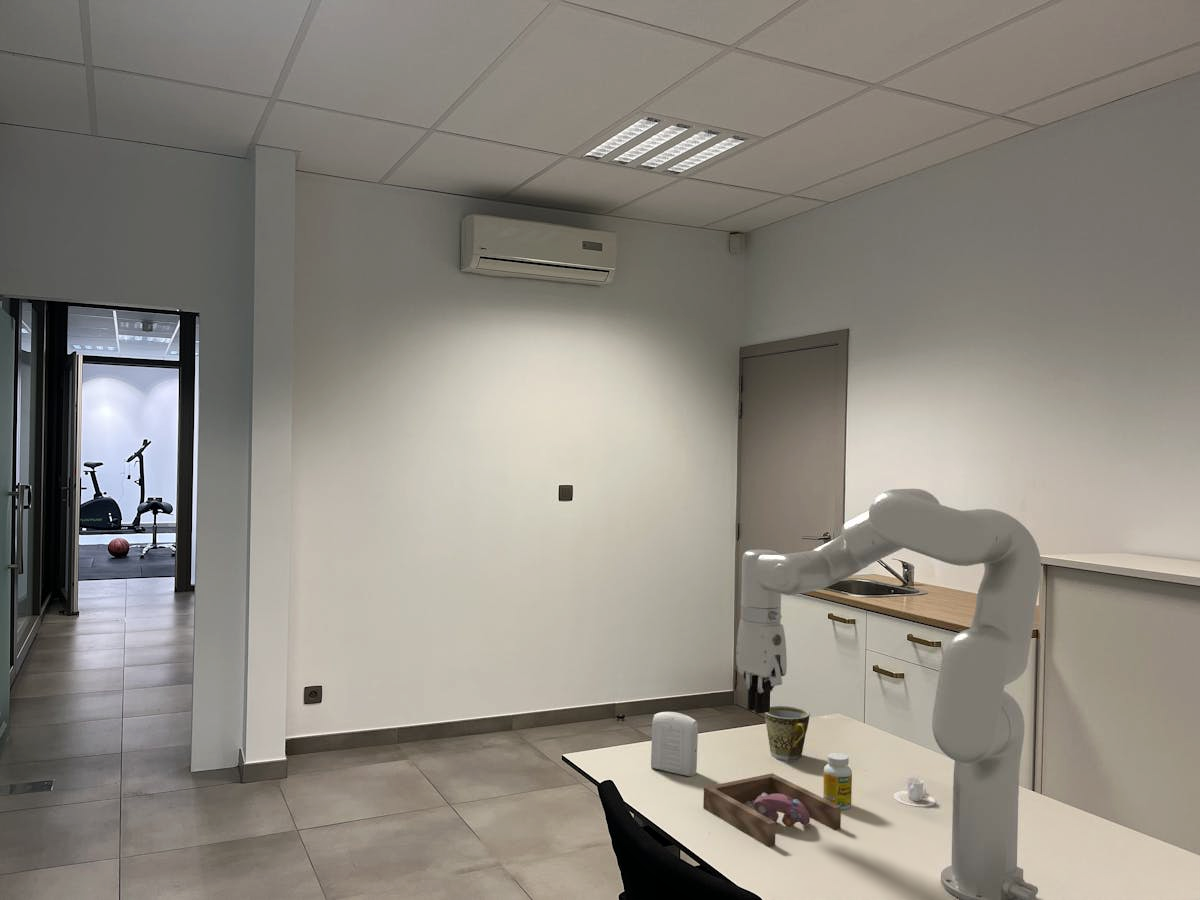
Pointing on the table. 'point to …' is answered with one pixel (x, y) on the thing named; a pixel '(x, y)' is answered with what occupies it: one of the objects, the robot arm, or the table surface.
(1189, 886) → the table surface
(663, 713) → the photo printer
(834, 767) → the supplement bottle
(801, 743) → the ceramic cup
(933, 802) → the teacup and saucer
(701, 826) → the table surface
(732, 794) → the frame
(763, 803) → the video game controller
